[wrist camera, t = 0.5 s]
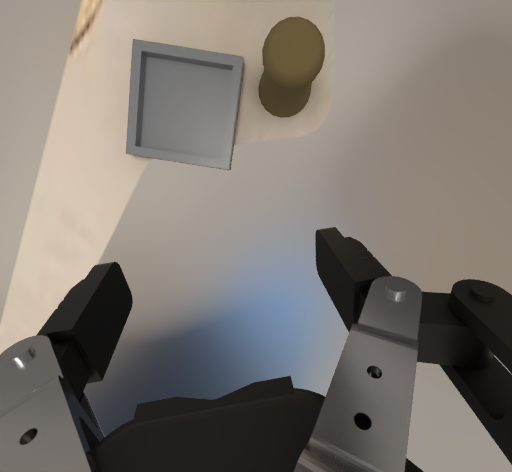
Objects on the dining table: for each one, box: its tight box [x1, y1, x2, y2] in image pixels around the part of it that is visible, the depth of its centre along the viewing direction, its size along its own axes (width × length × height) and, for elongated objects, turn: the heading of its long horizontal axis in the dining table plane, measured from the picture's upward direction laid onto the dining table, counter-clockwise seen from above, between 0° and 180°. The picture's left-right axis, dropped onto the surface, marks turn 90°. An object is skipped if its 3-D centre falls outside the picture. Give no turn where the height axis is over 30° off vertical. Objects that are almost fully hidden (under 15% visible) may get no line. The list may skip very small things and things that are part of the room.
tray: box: [126, 39, 244, 170], centre depth 32 cm, size 12×12×2 cm
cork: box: [259, 17, 325, 117], centre depth 27 cm, size 6×6×11 cm
